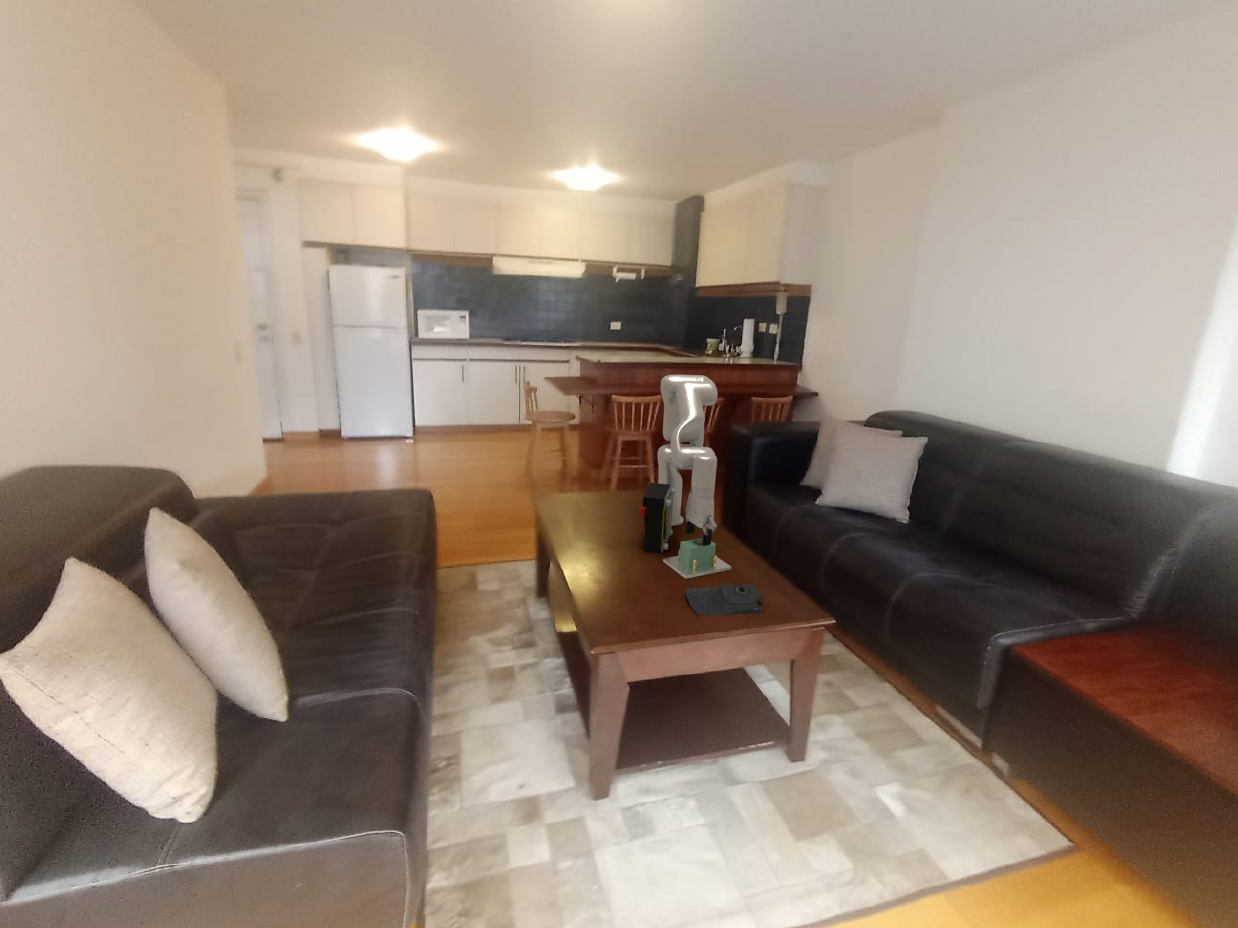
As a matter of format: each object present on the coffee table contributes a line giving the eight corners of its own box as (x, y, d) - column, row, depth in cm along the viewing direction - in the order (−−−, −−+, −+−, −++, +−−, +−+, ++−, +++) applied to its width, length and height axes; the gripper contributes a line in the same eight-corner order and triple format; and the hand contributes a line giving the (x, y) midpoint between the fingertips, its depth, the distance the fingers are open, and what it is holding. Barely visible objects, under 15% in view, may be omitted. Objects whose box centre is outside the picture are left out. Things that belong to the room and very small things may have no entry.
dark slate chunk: (680, 592, 176) (681, 577, 175) (749, 589, 180) (750, 575, 178) (694, 618, 162) (695, 602, 160) (768, 614, 165) (770, 599, 164)
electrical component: (667, 553, 202) (670, 499, 197) (638, 550, 204) (641, 496, 199) (672, 535, 219) (676, 485, 214) (646, 532, 221) (648, 482, 216)
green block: (679, 561, 194) (680, 540, 192) (704, 556, 199) (705, 536, 197) (688, 568, 189) (690, 546, 187) (714, 563, 193) (715, 542, 191)
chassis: (663, 561, 196) (663, 549, 195) (706, 553, 204) (707, 541, 203) (685, 578, 184) (686, 565, 183) (731, 569, 192) (732, 556, 191)
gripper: (678, 483, 193) (674, 531, 198) (708, 501, 178) (703, 551, 183) (697, 481, 196) (693, 527, 201) (727, 498, 182) (722, 547, 187)
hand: (698, 539), depth 192 cm, fingers open, 9 cm apart
